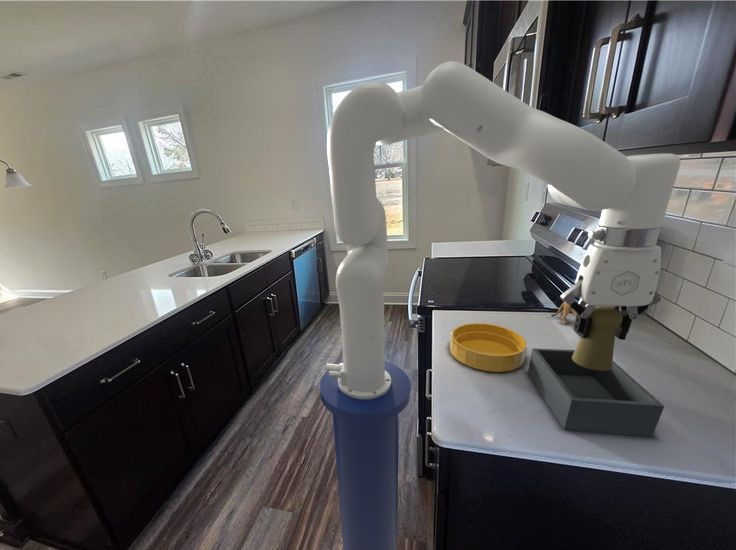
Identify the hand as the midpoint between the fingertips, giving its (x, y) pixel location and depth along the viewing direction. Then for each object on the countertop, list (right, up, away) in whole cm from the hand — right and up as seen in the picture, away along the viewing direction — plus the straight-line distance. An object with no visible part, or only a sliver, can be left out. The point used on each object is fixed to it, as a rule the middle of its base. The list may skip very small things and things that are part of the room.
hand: (598, 334), depth 58 cm
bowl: (-10, -7, +24) cm, 27 cm away
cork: (0, -6, +2) cm, 6 cm away
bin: (+1, -14, +5) cm, 15 cm away
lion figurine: (+23, -1, +34) cm, 41 cm away
